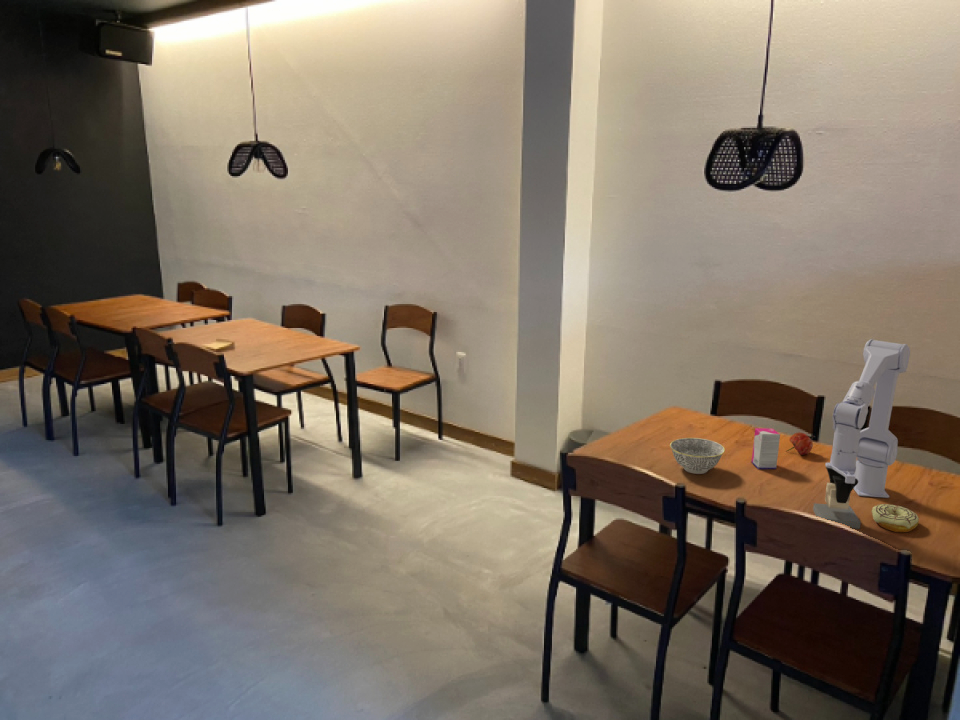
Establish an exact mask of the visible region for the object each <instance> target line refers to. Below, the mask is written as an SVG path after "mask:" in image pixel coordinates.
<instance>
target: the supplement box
mask: <svg viewBox="0 0 960 720" xmlns="http://www.w3.org/2000/svg"><path fill="white" fill-rule="evenodd" d="M780 438H781V433H779V432H778V431H776V429H774V428H767V427H766V428H765V427H764V428H762V427H761V428H760V427H759V428H758V427H755V428H754V437H753V445H752V447H753V448H752V452H751V453H752V455H751V461H750V462H751V464H752V465H753V466H754V467H755V468H756V469H757V470H777V466H778V465H777V464H778V456H779V449H780V448H779V447H780V441H781V440H780Z"/></svg>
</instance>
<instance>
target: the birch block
mask: <svg viewBox="0 0 960 720" xmlns="http://www.w3.org/2000/svg"><path fill="white" fill-rule="evenodd" d="M850 498H851V494H850V495H849V498H848V500H847V502H846V503H837V500H836V486H835V483H830V482H826V488H825V497H824V501H825V504H827V505H828V506H829V508H838V509H848V508H849V506H850V500H851V499H850Z"/></svg>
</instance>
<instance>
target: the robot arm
mask: <svg viewBox="0 0 960 720" xmlns="http://www.w3.org/2000/svg"><path fill="white" fill-rule="evenodd" d="M910 355H911V349H910V346H909V345H908V344H907V343H896V342H892V341H891V342H890V341H883V340H876V339H872V338H870V339H869V340H867V341H866V343H865V345H864V347H863V355H862V357H863V360H864V361H863V362H864V367H863V370H862V373H861V375H860V377H859V380H856V381H854V382H852V384H851V385H850V386H849V389H848V391H847V392H846V394H845V396H844V398H843V399H842V401H841V402H838V403H836V405H834V408H833V412H832V417H831V418H832V423H833V424H832V430H833V431H834V434H833V441H832V448H831V454H830V461H829V462H825V468H826V471H827V474H828V479H829V483H835V486H836V500H837V503H846V502H847V500H848V498H849V495H850V496H851V493H852V491H853V490H854V491H855V493H856V494H857V496H859V497H871V498H885V499H889V498H890V495H889V494H888V493H887V491H886V483H887V482H886V481H887V475H888V468H889V466H892V465H893V464H894V463H895V461H896V460H897V459H896V458H897V457H898V449H899V448H898V443H899V441H898V438H897V436H896V435H895V434H893V433H892V432H891V431H890V430H889V426H890V422H891V421H890V420H891V416H892V411H893V405H894V404H893V403H894V398H895V394H896V387H897V382H898V378H899V375H900V374H902V373H904V374H905V373H906V372H907V370H908V367H909V361H910ZM874 386H875V388H874ZM871 403H872V406H871V412H870V418H869V423H868V427H866V428H863V427H864V425H865V423H866V420H867V415H868V413H869V409H868V407H869V406H870V404H871ZM862 428H863V429H862Z"/></svg>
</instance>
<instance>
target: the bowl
mask: <svg viewBox="0 0 960 720" xmlns="http://www.w3.org/2000/svg"><path fill="white" fill-rule="evenodd" d="M669 447H670V449H671V451H672V455H673V457H674V459H675V461H676V462H677V464H679V466H680V467H682V468H683V469H684V471H685V472H687V473H690V474H695V475H700V474H706V473H707V472H709V470H711V469H713V468H715V467H716V466H717V465H718V463H719V462H720V460H721V458H722V456H723V455H724V453H725V450H726V449H725V447H724V445H722V444H720V443H719V442H716V441H714V440H710V439H706V438H699V437H684V438H682V437H681V438H677V439H675V440H672V441H671V442H670V444H669Z"/></svg>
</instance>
